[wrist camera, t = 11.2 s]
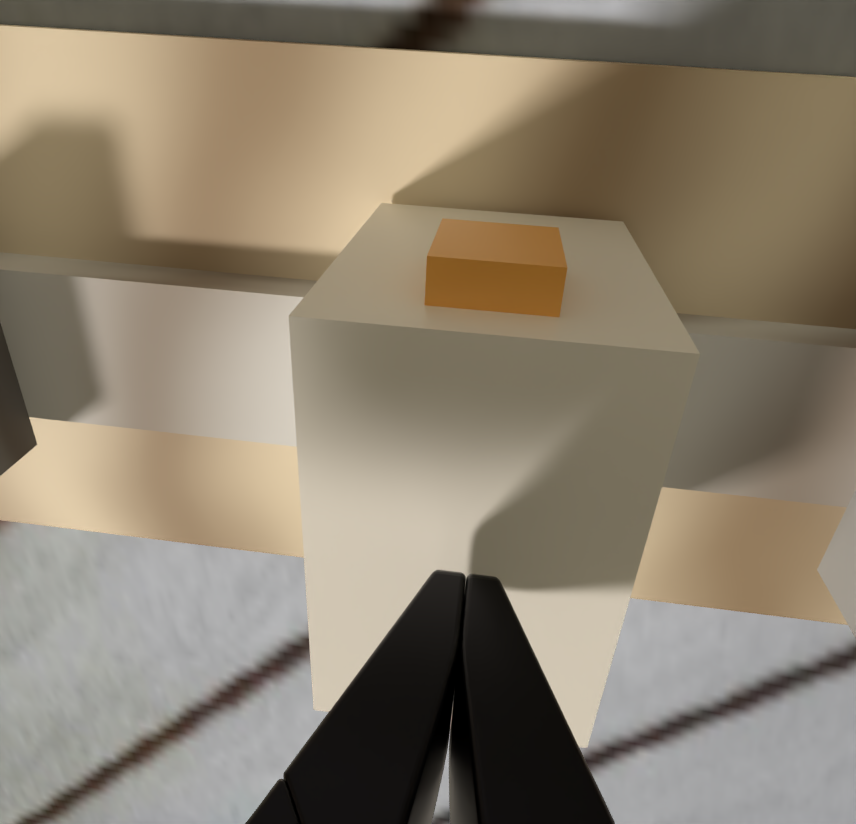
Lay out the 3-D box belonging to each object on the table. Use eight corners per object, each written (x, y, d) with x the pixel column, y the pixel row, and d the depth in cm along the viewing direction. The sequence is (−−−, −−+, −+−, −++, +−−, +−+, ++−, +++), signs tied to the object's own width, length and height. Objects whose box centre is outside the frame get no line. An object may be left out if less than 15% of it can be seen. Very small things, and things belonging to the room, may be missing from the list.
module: (630, 187, 12) (715, 300, 7) (563, 518, 15) (586, 747, 10) (382, 169, 12) (285, 263, 7) (378, 497, 16) (313, 709, 11)
